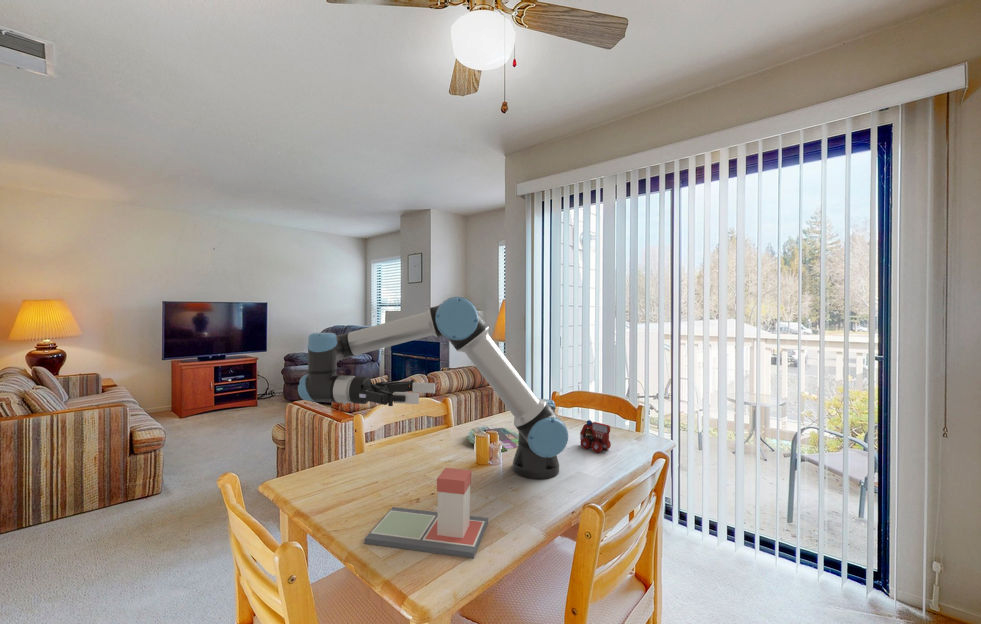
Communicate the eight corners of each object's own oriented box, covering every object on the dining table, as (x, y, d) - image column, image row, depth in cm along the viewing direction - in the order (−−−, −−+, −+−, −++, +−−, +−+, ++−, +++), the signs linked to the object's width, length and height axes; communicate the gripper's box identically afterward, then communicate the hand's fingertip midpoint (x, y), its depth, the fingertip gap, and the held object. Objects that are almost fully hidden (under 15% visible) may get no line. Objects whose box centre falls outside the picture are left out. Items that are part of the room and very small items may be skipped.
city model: (497, 464, 149) (499, 448, 148) (451, 441, 164) (453, 426, 164) (538, 448, 168) (540, 433, 167) (493, 429, 183) (495, 415, 182)
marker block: (470, 524, 101) (471, 470, 101) (463, 538, 95) (464, 481, 94) (444, 521, 102) (445, 467, 102) (436, 535, 96) (436, 478, 96)
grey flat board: (487, 522, 105) (488, 517, 104) (473, 558, 90) (473, 551, 90) (392, 511, 109) (392, 506, 109) (364, 543, 95) (364, 537, 95)
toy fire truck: (586, 442, 167) (587, 416, 167) (614, 451, 158) (615, 423, 158) (575, 446, 163) (576, 419, 163) (603, 455, 153) (604, 426, 153)
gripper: (373, 393, 131) (440, 397, 127) (329, 414, 106) (410, 419, 103) (373, 369, 131) (440, 372, 127) (329, 384, 106) (410, 388, 103)
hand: (427, 393), depth 115 cm, fingers open, 13 cm apart
